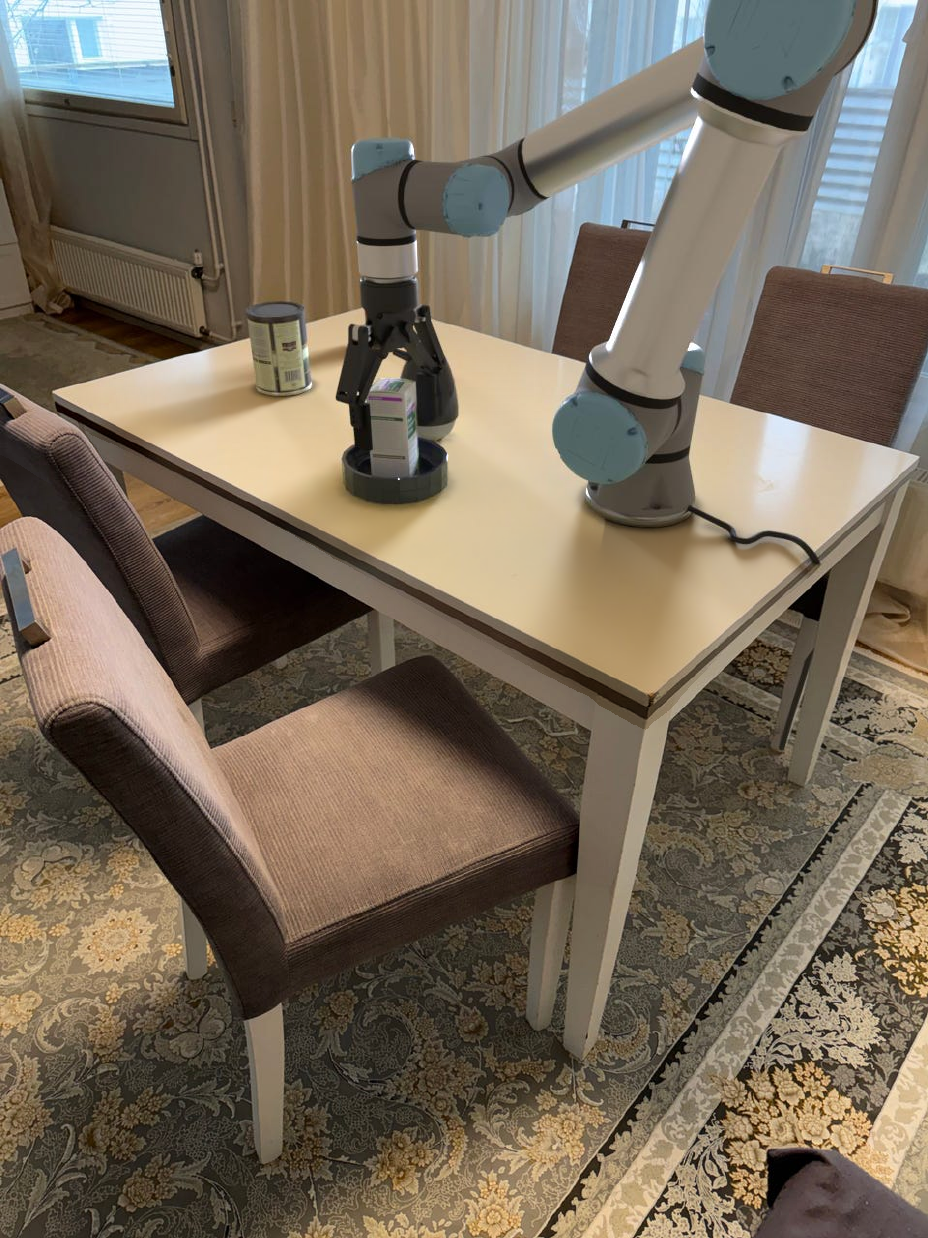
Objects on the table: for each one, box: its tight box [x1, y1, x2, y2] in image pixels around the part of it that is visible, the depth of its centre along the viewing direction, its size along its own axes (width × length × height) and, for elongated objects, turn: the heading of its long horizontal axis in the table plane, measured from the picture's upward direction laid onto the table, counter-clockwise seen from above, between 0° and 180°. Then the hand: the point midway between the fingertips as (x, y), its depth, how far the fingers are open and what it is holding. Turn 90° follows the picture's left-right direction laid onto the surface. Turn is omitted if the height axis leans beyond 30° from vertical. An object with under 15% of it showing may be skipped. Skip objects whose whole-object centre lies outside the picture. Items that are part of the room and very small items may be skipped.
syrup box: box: [365, 377, 419, 478], centre depth 124 cm, size 6×6×14 cm
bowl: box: [341, 437, 449, 506], centre depth 127 cm, size 15×15×4 cm
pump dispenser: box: [391, 348, 460, 442], centre depth 139 cm, size 10×10×15 cm
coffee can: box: [245, 300, 313, 397], centre depth 158 cm, size 10×10×14 cm
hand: (396, 432), depth 124 cm, fingers open, 13 cm apart
